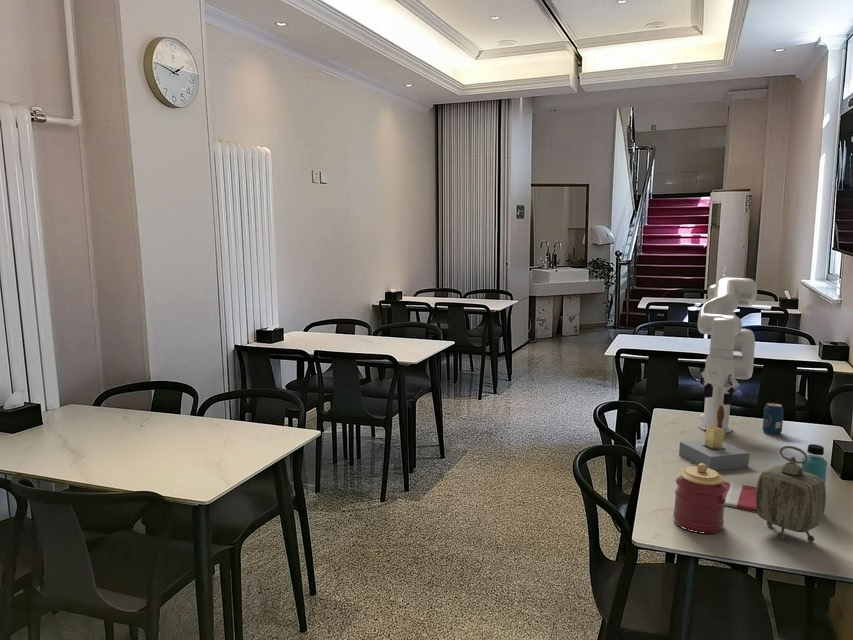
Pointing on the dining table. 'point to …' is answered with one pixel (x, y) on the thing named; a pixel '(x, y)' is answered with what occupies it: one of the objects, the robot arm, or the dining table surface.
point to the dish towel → (740, 496)
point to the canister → (700, 499)
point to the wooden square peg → (714, 438)
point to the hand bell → (721, 419)
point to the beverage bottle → (815, 462)
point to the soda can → (773, 418)
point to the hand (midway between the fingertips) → (717, 400)
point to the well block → (714, 455)
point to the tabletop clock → (791, 497)
